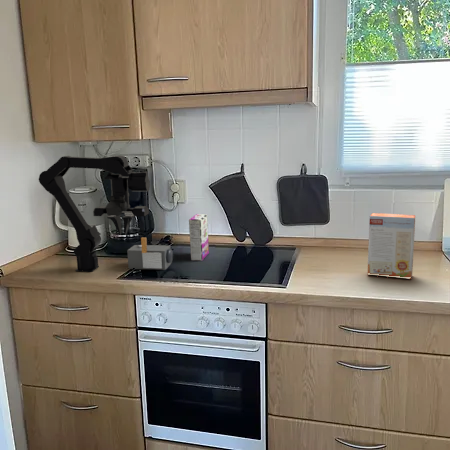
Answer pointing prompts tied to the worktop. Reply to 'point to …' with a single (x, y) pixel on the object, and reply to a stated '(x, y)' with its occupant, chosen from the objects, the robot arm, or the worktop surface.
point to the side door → (150, 256)
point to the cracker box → (391, 244)
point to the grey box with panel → (136, 251)
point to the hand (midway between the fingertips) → (122, 234)
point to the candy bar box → (199, 237)
